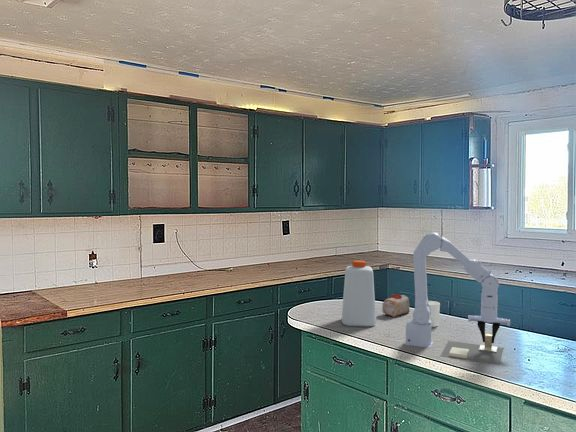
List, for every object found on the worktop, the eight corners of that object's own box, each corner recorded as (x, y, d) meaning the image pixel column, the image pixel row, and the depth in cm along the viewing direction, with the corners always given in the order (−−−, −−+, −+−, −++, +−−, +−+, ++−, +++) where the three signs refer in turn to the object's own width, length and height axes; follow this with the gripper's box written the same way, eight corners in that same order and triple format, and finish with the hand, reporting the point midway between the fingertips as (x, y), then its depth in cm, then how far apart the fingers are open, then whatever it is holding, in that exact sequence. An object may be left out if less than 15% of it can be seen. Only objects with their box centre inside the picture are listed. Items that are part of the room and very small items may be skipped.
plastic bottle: (374, 318, 237) (374, 258, 235) (376, 327, 222) (377, 264, 220) (341, 317, 238) (342, 258, 237) (341, 326, 223) (342, 263, 222)
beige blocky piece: (478, 350, 189) (479, 336, 189) (480, 346, 195) (480, 331, 194) (496, 353, 187) (496, 338, 186) (497, 348, 192) (497, 333, 192)
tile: (452, 350, 189) (449, 356, 183) (452, 346, 189) (449, 352, 183) (469, 353, 187) (466, 358, 181) (469, 349, 187) (466, 355, 180)
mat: (440, 357, 183) (440, 356, 183) (448, 342, 201) (448, 340, 201) (500, 366, 175) (500, 364, 175) (503, 349, 193) (503, 347, 193)
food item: (394, 318, 237) (395, 297, 237) (380, 315, 243) (381, 294, 242) (411, 313, 247) (411, 293, 246) (397, 310, 252) (397, 290, 252)
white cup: (427, 328, 221) (427, 305, 220) (417, 323, 229) (418, 301, 228) (443, 326, 223) (443, 304, 223) (433, 322, 231) (433, 300, 230)
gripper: (510, 305, 190) (509, 341, 191) (469, 302, 196) (469, 336, 197) (510, 310, 183) (509, 347, 184) (467, 306, 190) (467, 341, 191)
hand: (488, 342), depth 190 cm, fingers closed on beige blocky piece, 2 cm apart
